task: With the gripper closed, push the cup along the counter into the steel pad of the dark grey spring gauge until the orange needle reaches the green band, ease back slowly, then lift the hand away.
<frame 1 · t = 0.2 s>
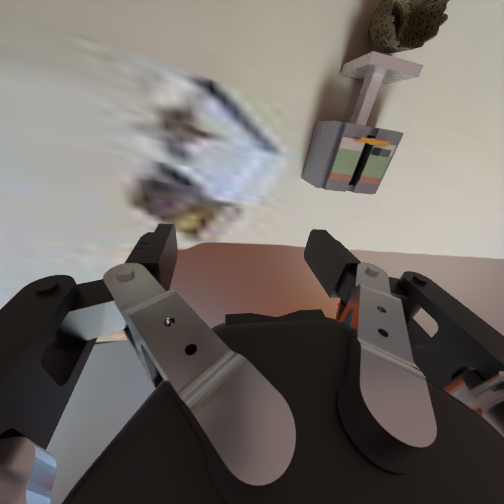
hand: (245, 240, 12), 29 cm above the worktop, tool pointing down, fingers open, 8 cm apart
plunger: (369, 106, 30), point 5 cm above the worktop, slide at 0.0 cm
cup: (376, 30, 29), on the worktop
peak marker: (381, 152, 30), point 9 cm above the worktop, slide at 0.0 cm
gauge housing: (336, 155, 38), on the worktop
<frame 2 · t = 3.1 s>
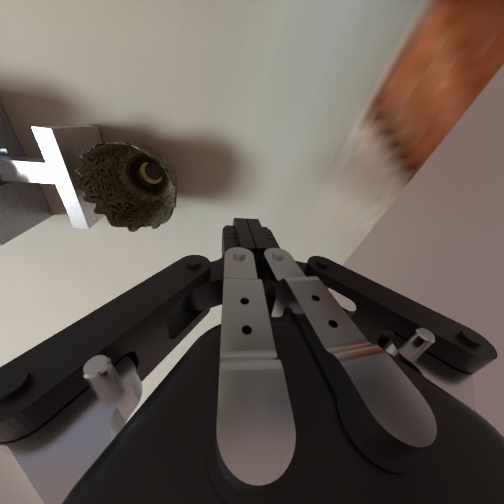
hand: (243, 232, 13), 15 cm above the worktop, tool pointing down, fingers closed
plunger: (23, 173, 17), point 5 cm above the worktop, slide at 0.0 cm
cup: (153, 171, 23), on the worktop
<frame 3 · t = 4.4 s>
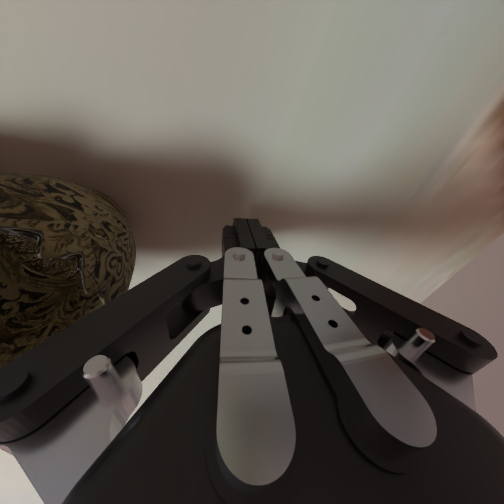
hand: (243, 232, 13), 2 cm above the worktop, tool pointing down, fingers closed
cup: (98, 214, 12), on the worktop
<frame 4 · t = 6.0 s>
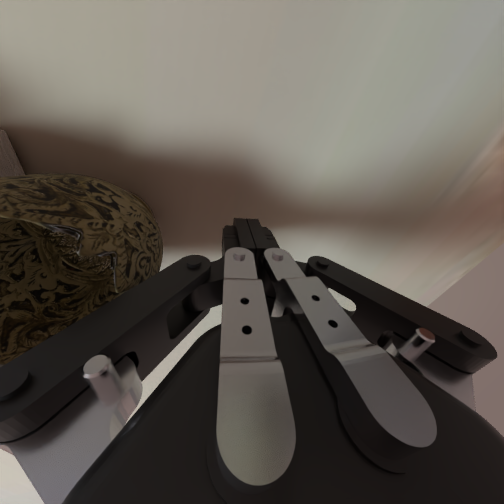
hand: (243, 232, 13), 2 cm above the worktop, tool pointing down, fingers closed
cup: (130, 213, 13), on the worktop, touching hand, plunger
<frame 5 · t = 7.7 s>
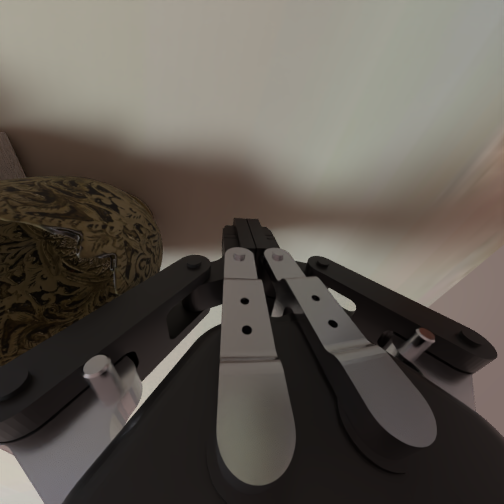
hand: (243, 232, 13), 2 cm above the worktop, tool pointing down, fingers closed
cup: (130, 215, 13), on the worktop, touching hand, plunger
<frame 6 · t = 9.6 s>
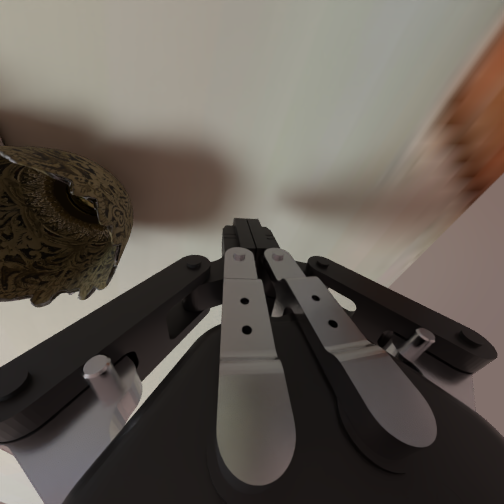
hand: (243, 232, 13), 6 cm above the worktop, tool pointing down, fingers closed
cup: (102, 190, 15), on the worktop
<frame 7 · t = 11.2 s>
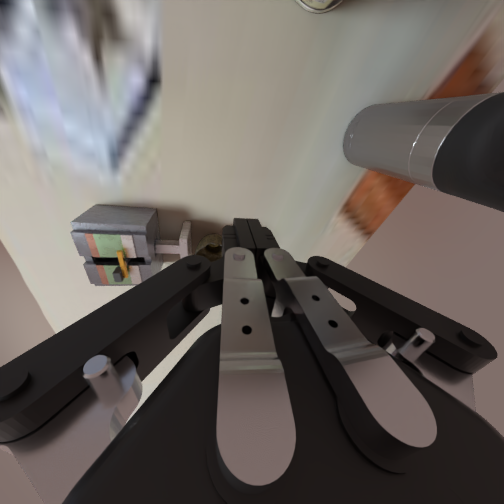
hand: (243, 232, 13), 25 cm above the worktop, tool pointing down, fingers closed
plunger: (159, 250, 35), point 5 cm above the worktop, slide at 1.8 cm
cup: (214, 239, 41), on the worktop
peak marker: (119, 274, 31), point 9 cm above the worktop, slide at 1.4 cm
gauge housing: (133, 236, 37), on the worktop
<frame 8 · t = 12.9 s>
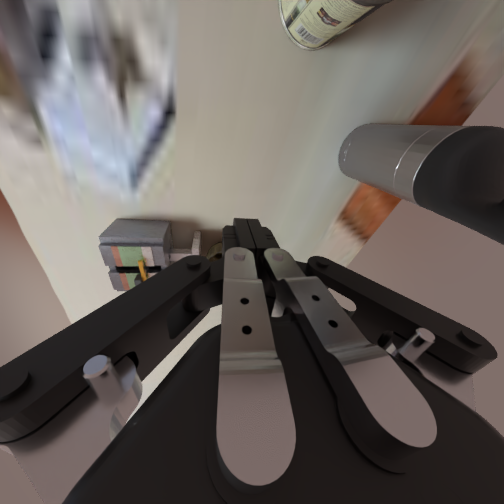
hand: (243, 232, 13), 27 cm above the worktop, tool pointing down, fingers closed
plunger: (173, 258, 39), point 5 cm above the worktop, slide at 1.8 cm
cup: (221, 247, 45), on the worktop
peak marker: (139, 281, 35), point 9 cm above the worktop, slide at 1.4 cm
gauge housing: (148, 246, 41), on the worktop
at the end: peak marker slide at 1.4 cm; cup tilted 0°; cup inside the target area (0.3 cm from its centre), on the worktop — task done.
